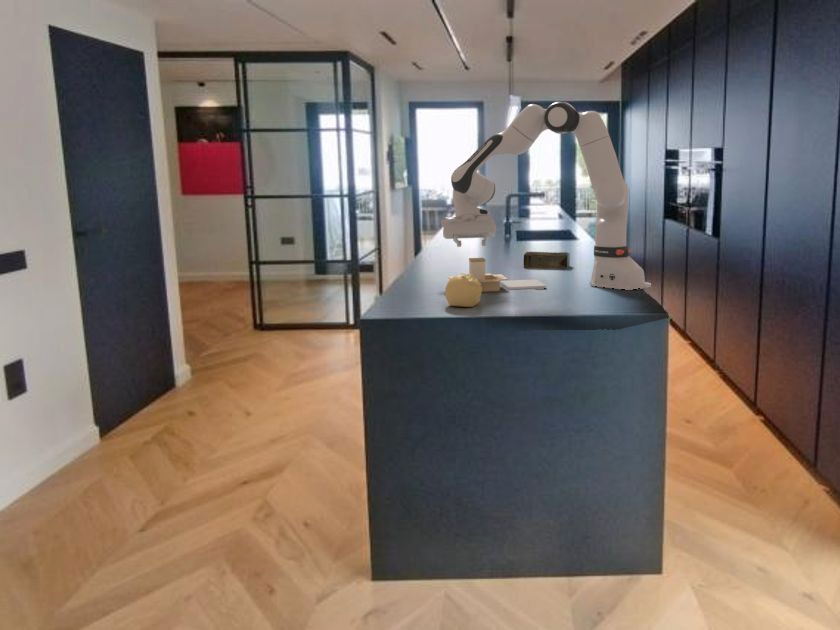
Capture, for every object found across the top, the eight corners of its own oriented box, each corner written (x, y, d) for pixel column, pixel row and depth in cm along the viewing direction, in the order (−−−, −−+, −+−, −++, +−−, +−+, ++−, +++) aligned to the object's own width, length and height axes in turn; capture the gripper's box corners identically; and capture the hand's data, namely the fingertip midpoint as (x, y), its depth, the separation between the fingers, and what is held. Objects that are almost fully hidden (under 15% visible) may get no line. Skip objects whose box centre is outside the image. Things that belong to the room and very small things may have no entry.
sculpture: (484, 308, 241) (484, 275, 239) (447, 310, 240) (447, 276, 238) (479, 301, 252) (479, 270, 250) (443, 303, 251) (443, 271, 249)
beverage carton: (567, 269, 318) (568, 253, 316) (522, 268, 323) (522, 253, 322) (569, 266, 325) (570, 251, 324) (525, 265, 331) (525, 250, 329)
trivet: (500, 284, 285) (500, 280, 285) (536, 282, 286) (536, 279, 286) (508, 290, 271) (508, 287, 271) (546, 288, 273) (546, 285, 272)
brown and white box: (469, 288, 276) (468, 258, 273) (483, 287, 276) (483, 257, 274) (471, 290, 271) (471, 259, 269) (485, 289, 272) (485, 259, 269)
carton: (446, 287, 281) (446, 275, 280) (499, 284, 283) (499, 273, 282) (453, 295, 264) (453, 282, 264) (509, 292, 266) (509, 280, 266)
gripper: (441, 212, 285) (445, 241, 277) (494, 210, 287) (499, 239, 279) (439, 223, 290) (443, 251, 283) (491, 221, 292) (497, 249, 285)
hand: (471, 245), depth 281 cm, fingers open, 8 cm apart
